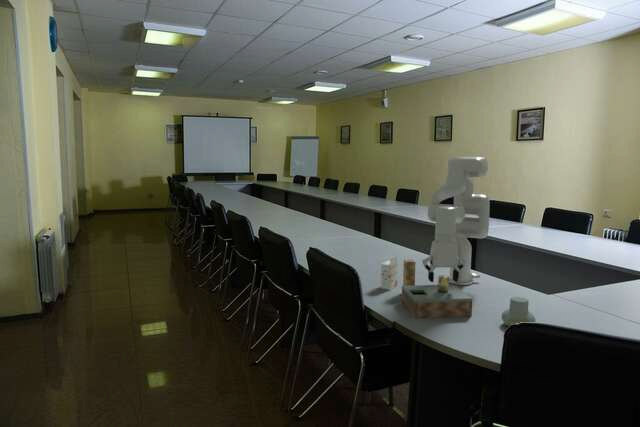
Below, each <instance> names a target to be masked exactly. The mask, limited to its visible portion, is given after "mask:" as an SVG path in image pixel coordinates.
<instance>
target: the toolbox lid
mask: <svg viewBox="0 0 640 427" xmlns="http://www.w3.org/2000/svg"><path fill="white" fill-rule="evenodd" d="M402 289H403V290H404V291H405V292H406V293H407V294H408V295H409V296H410V297H411V298H412V300H413V301H414V302H415V303H424V302H454V301H472V302H473V297H471V296H470V295H469V294H467V293H466V292H465V291H463V290H462V289H460V288H459V287H458V286H457V285H456V284H451V283H449V276H448V275H438V278H437V284H424V285H421V284H418V285H416V284H415V285H413V286H403V285H401V290H402ZM412 292H424V293H425V294H426V295H413V294H412Z"/></svg>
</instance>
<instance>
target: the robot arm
mask: <svg viewBox="0 0 640 427" xmlns="http://www.w3.org/2000/svg"><path fill="white" fill-rule="evenodd" d="M447 168H448V169H447V172H446V173H447V174H446V178H445V183H444V184H443V185H442V186H440V187H439V188H437V189H436V191H434V193H433V194H432V196H431V197H430V200H429V203H428V204H429V205H428V208H427V218H428V220H429V221H431V222H433V223H435V230H434V232H435V233H434V240H433V241H432V242H431V248H430V251H429V252H430V254H429V256H428V257H425V258H424V259H422V261H421V262H422V264H423V267H424V268H425V269H426V270H427V271H428V273H427V274H428V275H427V276H428V280H429V281H430V282H431V283H434V280H435V278H434V277H435V273H434V270H435V269H436V268H449V276H448V277H449V284H454V285H455V286H457V285H458V286H469V285H473V283H474V279H480V278H481V274H479V273H476V274H475V273H472V272H471V266H472V245H471V242H470V241H469V240H468V239H467V238H472V239H485V238H487V236H488V235H489V230H490V209H491V208H490V207H491V206H490V204H491V203H490V202H491V201H490V199H489V197H488V196H487V195H485V194H476V193H475V194H474V187H475V186H474V182H473V179H472V178H483V177H484V176H486V175H487V173H488V169H489V161H488V159H487V158H486V157H484V156H455V157H451V158H450V159H449V160H448V162H447ZM449 198H453V204H450V203H449V204H446V203H445V204H444V203H441V202H442V201H445V200H447V199H449ZM466 215H473V216H474V215H475V216H477V217H472V216H471V217H470V216H469V217H468V216H466ZM428 262H429V264H430V265H428Z"/></svg>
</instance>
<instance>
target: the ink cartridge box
mask: <svg viewBox="0 0 640 427" xmlns="http://www.w3.org/2000/svg"><path fill="white" fill-rule="evenodd" d="M398 264H399V261H398V255H394V256H392V257H390V259H388V260H386V261H384V262H382V263H381V264H380V265H381V266H380V270H381V271H380V288H381V290H382V289H383V290H388V291H391V290H393V289H394V288H396V287H398V273H399V272H398V269H399V268H398V266H399V265H398Z"/></svg>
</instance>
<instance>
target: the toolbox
mask: <svg viewBox="0 0 640 427" xmlns="http://www.w3.org/2000/svg"><path fill="white" fill-rule="evenodd" d="M412 294H413V295H426V294H425V293H424V292H412ZM401 303H402V304H403V305H404V307H405V308H406V310H408V311H409V313H410V315H411V316H413V318H414V319H429V318H430V319H431V318H432V319H433V318H454V317H455V318H459V317H461V318H462V317H472V316H473V300H472V301H454V302H424V303H415V302H414V301H413V300H412V298H411V297H410V296H409V295H408V294H407V293H406V292H405V291H404V290H403V289H402V288H401Z"/></svg>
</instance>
